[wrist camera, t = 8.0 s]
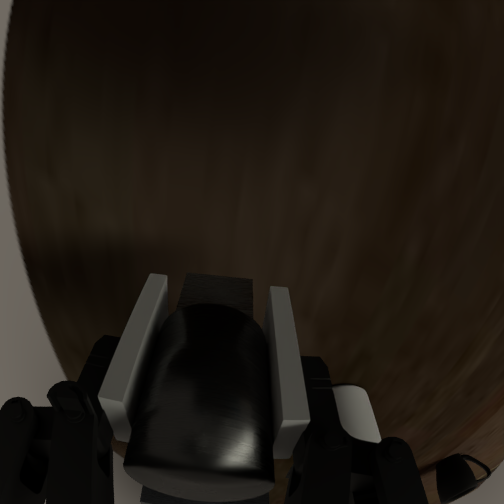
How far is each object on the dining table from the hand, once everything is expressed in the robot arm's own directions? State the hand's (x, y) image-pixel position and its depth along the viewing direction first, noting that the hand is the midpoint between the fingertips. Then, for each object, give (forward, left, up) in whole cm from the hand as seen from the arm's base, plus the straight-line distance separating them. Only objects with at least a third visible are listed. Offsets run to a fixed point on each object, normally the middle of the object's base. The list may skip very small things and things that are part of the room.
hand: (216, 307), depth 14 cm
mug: (+44, +50, -7) cm, 67 cm away
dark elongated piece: (+12, 0, -1) cm, 12 cm away
